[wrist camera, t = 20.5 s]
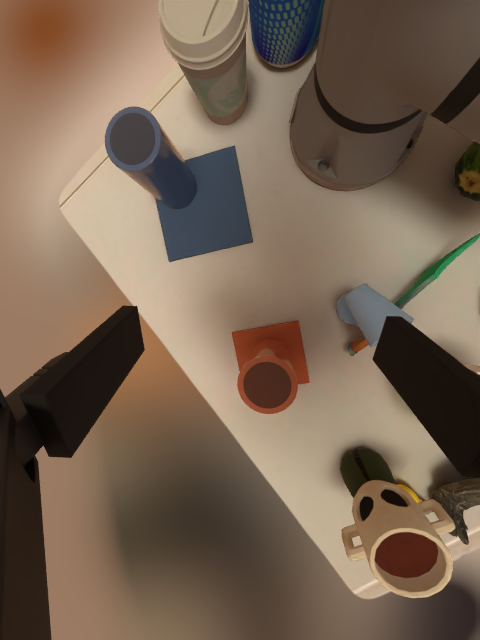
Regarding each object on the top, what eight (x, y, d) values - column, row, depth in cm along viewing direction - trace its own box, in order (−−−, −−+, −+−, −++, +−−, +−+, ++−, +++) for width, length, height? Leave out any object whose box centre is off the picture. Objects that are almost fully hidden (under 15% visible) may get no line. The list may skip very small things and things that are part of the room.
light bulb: (403, 482, 33) (404, 515, 31) (439, 496, 33) (442, 529, 32) (382, 478, 35) (382, 508, 34) (416, 491, 36) (417, 521, 35)
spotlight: (386, 321, 33) (357, 278, 33) (432, 331, 23) (390, 271, 23) (353, 341, 34) (325, 299, 34) (384, 359, 24) (344, 301, 24)
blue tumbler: (192, 159, 35) (153, 97, 24) (201, 203, 35) (166, 161, 24) (153, 171, 36) (98, 117, 25) (161, 213, 36) (111, 178, 25)
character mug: (388, 430, 34) (453, 510, 22) (411, 475, 34) (491, 581, 22) (315, 458, 36) (336, 547, 23) (338, 501, 36) (371, 612, 24)
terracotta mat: (298, 320, 35) (298, 320, 34) (309, 381, 35) (309, 382, 35) (232, 332, 36) (231, 332, 36) (244, 390, 37) (243, 391, 37)
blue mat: (234, 147, 34) (234, 145, 34) (252, 242, 35) (252, 241, 34) (150, 172, 36) (149, 171, 36) (169, 261, 37) (168, 261, 36)
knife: (351, 355, 34) (363, 365, 29) (339, 346, 34) (350, 354, 29) (465, 239, 31) (500, 228, 26) (452, 229, 31) (485, 216, 26)
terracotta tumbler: (287, 334, 35) (291, 351, 24) (294, 375, 35) (302, 410, 24) (245, 341, 36) (232, 360, 25) (253, 381, 36) (243, 417, 25)
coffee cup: (214, 148, 34) (181, 71, 22) (184, 93, 34) (135, -13, 22) (268, 109, 33) (264, 5, 21) (237, 52, 33) (214, -85, 21)
